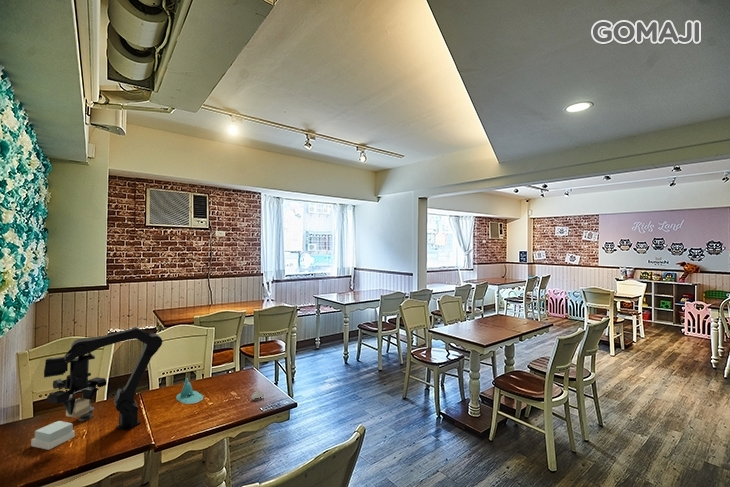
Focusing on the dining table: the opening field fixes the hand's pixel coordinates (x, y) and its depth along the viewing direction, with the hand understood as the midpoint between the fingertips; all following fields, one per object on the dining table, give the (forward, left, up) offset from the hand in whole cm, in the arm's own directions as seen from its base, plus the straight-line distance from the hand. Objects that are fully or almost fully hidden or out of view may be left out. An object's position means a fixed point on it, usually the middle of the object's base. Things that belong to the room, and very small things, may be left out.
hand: (77, 411), depth 134 cm
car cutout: (-45, -50, -12) cm, 68 cm away
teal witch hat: (-14, -44, -12) cm, 48 cm away
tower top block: (+8, +3, -9) cm, 12 cm away
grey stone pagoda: (+14, -14, -12) cm, 23 cm away
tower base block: (+8, +3, -12) cm, 14 cm away
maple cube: (0, 0, -1) cm, 1 cm away
